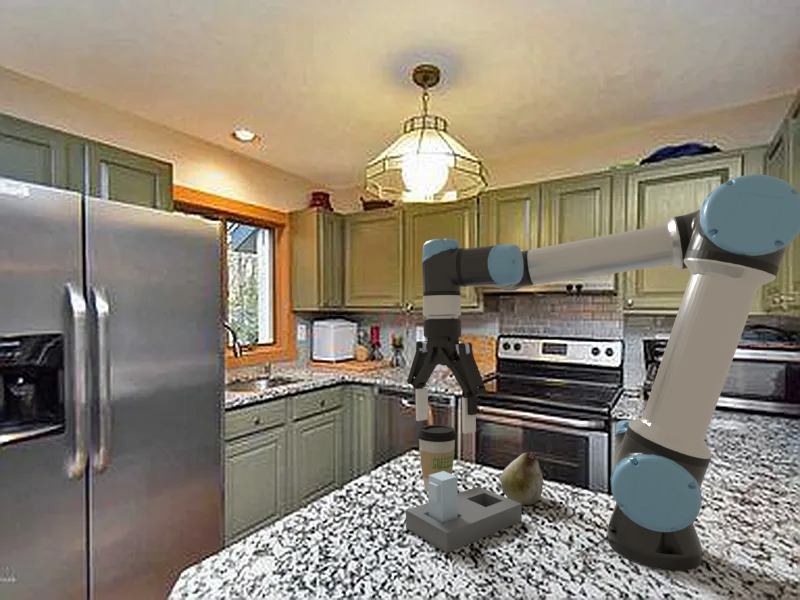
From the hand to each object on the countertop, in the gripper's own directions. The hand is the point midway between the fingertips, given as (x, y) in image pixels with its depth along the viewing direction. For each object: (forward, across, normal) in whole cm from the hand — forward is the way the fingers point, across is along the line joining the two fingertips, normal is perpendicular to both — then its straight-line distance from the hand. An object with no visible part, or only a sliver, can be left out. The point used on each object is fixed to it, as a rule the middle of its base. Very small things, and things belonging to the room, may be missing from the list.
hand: (444, 425), depth 89 cm
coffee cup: (+21, +19, -14) cm, 32 cm away
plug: (+21, +1, 0) cm, 21 cm away
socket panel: (+21, +1, -6) cm, 22 cm away
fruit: (+22, +2, -25) cm, 33 cm away
